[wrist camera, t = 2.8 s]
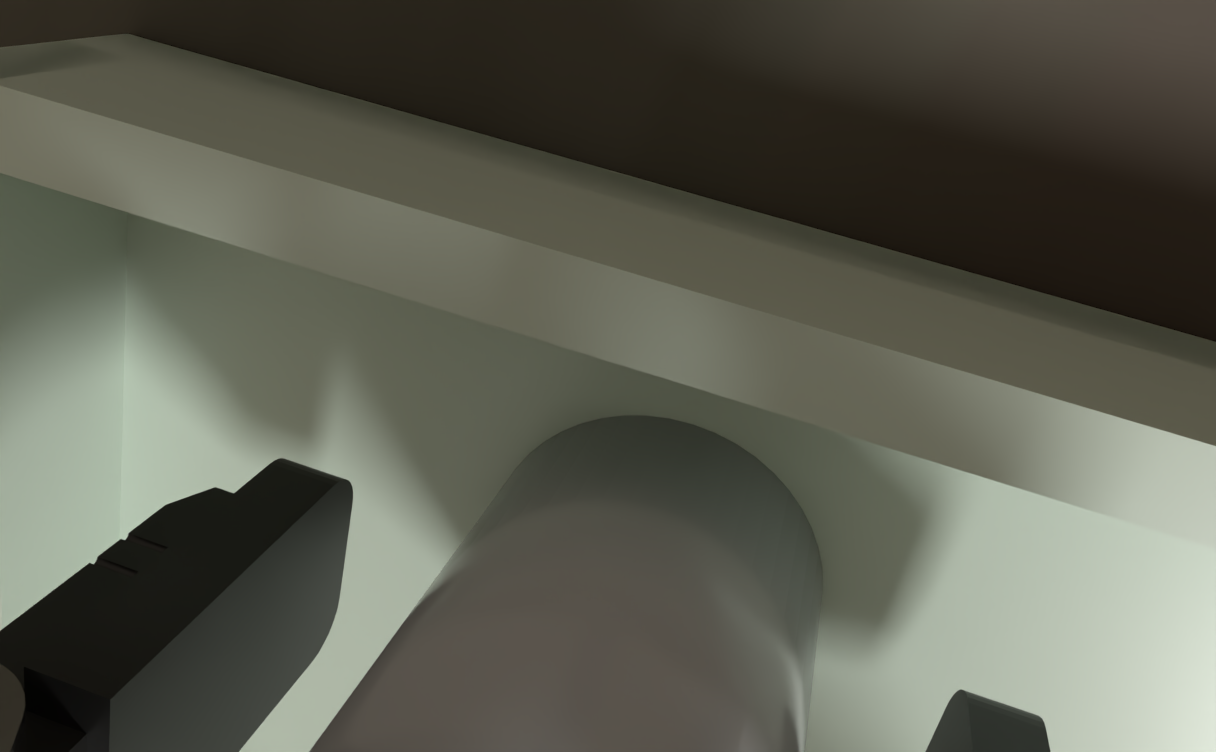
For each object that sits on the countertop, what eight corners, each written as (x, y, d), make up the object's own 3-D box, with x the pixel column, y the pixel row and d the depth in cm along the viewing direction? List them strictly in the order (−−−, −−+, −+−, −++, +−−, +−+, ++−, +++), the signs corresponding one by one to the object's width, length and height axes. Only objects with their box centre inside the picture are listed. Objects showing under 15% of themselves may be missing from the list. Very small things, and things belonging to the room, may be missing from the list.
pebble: (523, 370, 11) (277, 650, 7) (870, 479, 11) (853, 862, 6) (466, 646, 13) (236, 1020, 8) (767, 753, 12) (693, 1212, 8)
